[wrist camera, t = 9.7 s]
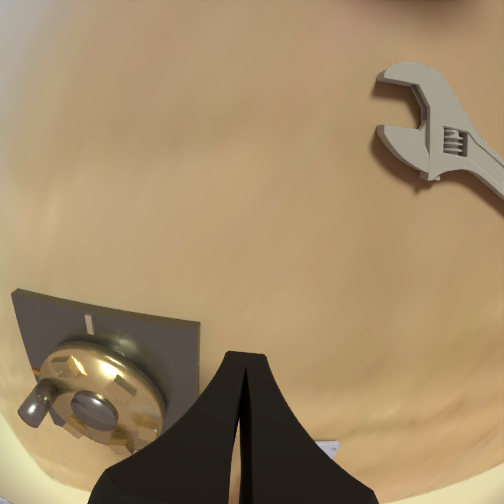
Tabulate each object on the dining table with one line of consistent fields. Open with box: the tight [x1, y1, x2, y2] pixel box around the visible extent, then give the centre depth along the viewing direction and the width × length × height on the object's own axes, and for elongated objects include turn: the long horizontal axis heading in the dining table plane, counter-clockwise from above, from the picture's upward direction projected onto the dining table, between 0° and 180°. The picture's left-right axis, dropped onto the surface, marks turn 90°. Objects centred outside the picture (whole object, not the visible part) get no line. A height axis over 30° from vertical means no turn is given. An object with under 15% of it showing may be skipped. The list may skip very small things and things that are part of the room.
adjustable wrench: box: [376, 61, 504, 201], centre depth 17 cm, size 25×6×2 cm, turn 63°
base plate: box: [11, 289, 200, 450], centre depth 23 cm, size 16×16×1 cm
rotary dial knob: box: [18, 341, 166, 455], centre depth 19 cm, size 11×11×6 cm
